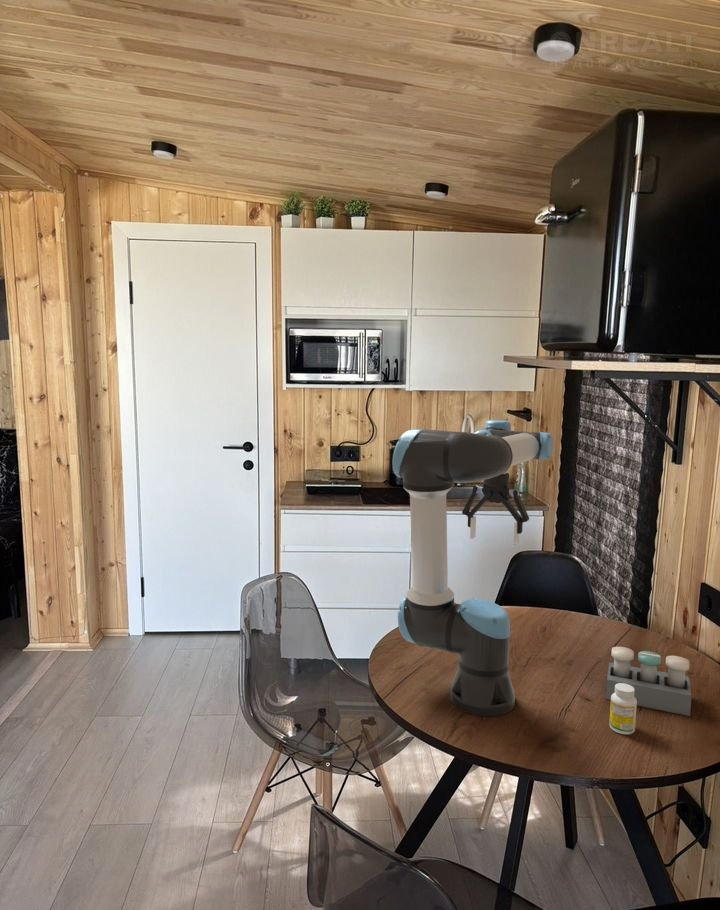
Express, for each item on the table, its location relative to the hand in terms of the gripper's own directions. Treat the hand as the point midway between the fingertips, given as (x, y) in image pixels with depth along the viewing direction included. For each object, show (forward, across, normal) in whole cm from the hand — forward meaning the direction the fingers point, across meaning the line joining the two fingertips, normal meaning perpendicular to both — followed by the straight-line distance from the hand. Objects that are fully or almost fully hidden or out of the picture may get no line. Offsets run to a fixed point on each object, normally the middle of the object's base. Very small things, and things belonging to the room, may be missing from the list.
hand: (494, 540), depth 193 cm
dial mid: (+23, -47, +23) cm, 57 cm away
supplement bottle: (+28, -44, +40) cm, 66 cm away
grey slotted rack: (+27, -47, +23) cm, 59 cm away
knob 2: (+23, -53, +22) cm, 62 cm away
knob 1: (+23, -41, +24) cm, 52 cm away
